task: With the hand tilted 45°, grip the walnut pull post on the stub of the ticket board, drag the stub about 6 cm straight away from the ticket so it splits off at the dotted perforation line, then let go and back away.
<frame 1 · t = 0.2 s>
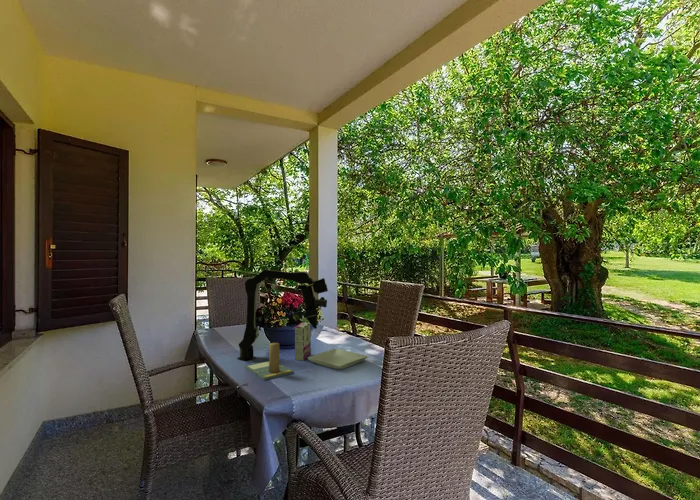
hand: (316, 326, 190), 15 cm above the table, tool pointing down, fingers open, 9 cm apart
ticket: (264, 368, 173), on the table
salad plate: (337, 363, 182), on the table
candy bar box: (302, 357, 190), on the table
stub: (275, 359, 165), point 7 cm above the table, slide at 0.0 cm
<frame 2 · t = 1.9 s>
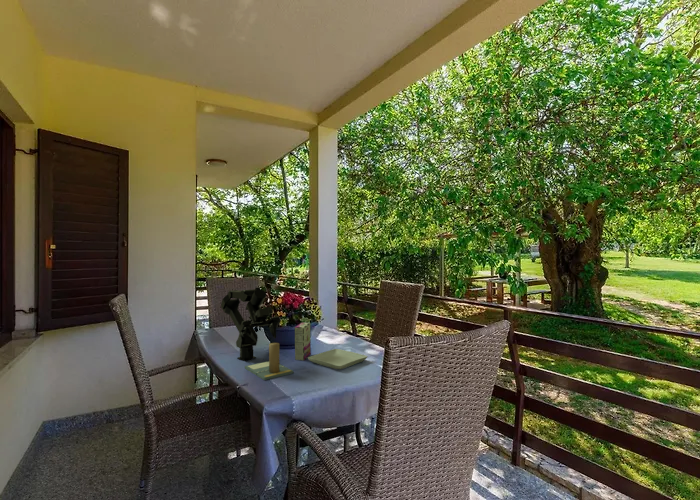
hand: (266, 339, 172), 13 cm above the table, tool tilted 45°, fingers open, 9 cm apart
nothing on the table moved.
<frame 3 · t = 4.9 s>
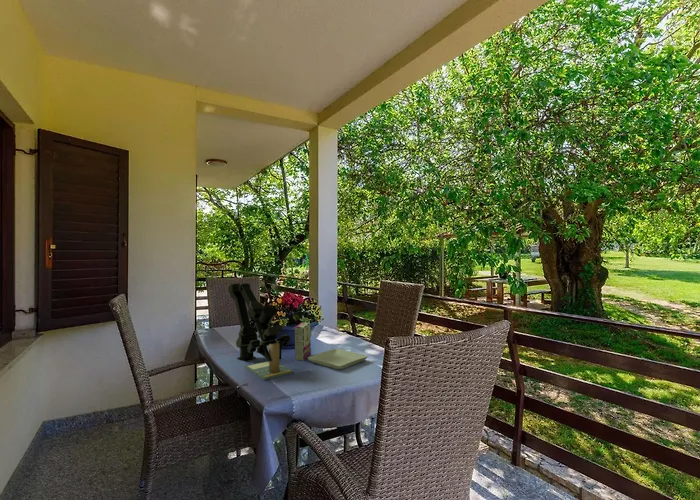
hand: (275, 360, 164), 7 cm above the table, tool tilted 45°, fingers closed on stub, 4 cm apart
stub: (275, 359, 165), point 7 cm above the table, slide at 0.0 cm, touching gripper
everything else where it was.
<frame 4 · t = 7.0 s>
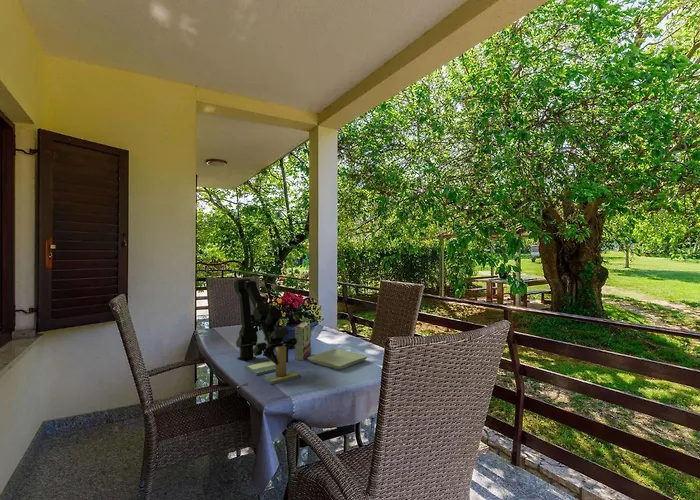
hand: (282, 363, 160), 7 cm above the table, tool tilted 45°, fingers closed on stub, 4 cm apart
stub: (282, 362, 160), point 7 cm above the table, slide at 6.0 cm, touching gripper
everything else where it was.
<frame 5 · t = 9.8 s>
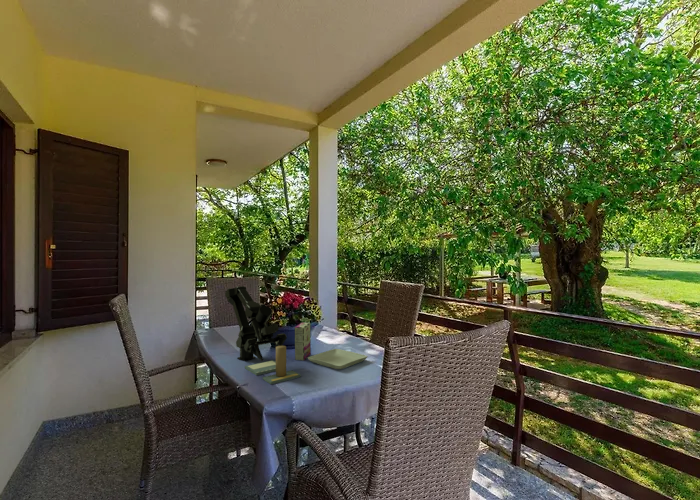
hand: (272, 358, 167), 6 cm above the table, tool tilted 45°, fingers open, 9 cm apart
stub: (282, 362, 160), point 7 cm above the table, slide at 6.0 cm
everything else where it was.
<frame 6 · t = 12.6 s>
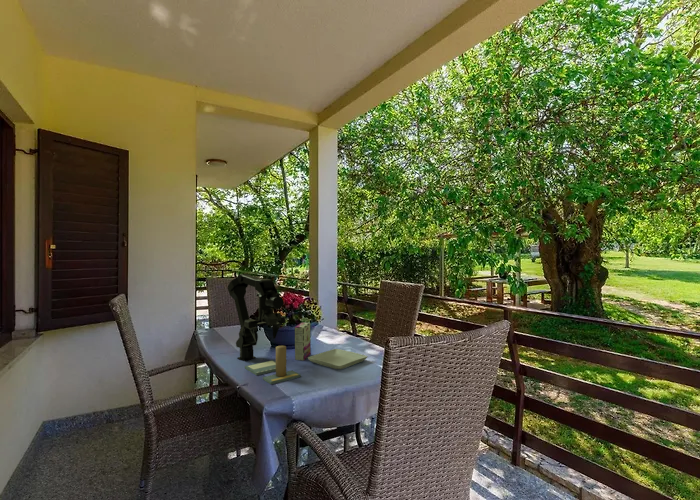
hand: (265, 340, 177), 12 cm above the table, tool pointing down, fingers open, 9 cm apart
nothing on the table moved.
at the end: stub slide at 6.0 cm; the gripper is holding nothing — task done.
